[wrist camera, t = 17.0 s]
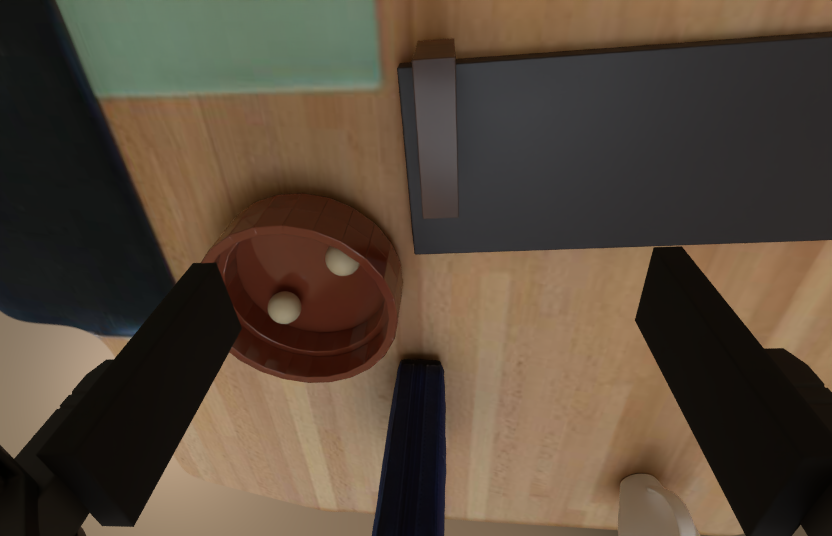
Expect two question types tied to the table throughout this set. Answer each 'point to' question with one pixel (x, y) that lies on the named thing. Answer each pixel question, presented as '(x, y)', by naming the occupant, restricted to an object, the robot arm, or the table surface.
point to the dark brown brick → (436, 126)
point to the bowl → (309, 287)
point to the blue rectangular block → (414, 454)
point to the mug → (652, 509)
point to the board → (636, 147)
